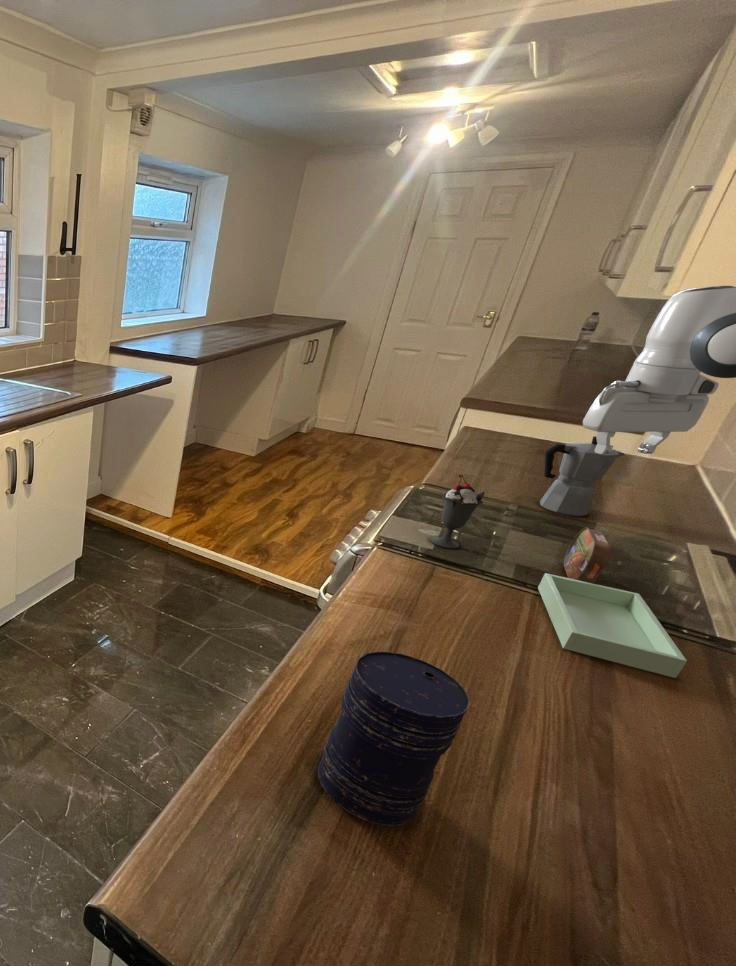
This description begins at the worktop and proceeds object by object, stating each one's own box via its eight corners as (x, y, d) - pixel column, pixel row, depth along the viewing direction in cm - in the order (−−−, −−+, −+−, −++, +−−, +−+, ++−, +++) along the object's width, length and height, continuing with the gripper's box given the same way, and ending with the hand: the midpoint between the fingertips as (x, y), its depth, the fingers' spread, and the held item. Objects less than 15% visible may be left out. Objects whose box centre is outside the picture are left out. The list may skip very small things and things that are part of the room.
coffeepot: (580, 504, 143) (616, 433, 135) (607, 519, 135) (647, 444, 127) (511, 498, 145) (542, 428, 137) (533, 512, 137) (568, 439, 129)
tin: (561, 558, 116) (581, 520, 112) (581, 563, 114) (602, 524, 110) (570, 589, 105) (592, 548, 101) (593, 594, 103) (616, 553, 99)
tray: (630, 608, 99) (639, 593, 98) (675, 678, 83) (687, 661, 81) (537, 587, 105) (545, 572, 104) (562, 648, 88) (572, 632, 87)
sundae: (418, 539, 122) (444, 472, 115) (439, 534, 124) (465, 468, 118) (449, 552, 117) (478, 483, 110) (470, 547, 119) (500, 479, 112)
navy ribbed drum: (374, 840, 58) (426, 729, 51) (297, 767, 66) (332, 663, 59) (438, 808, 62) (494, 700, 55) (357, 743, 70) (397, 642, 63)
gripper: (626, 384, 103) (590, 458, 109) (727, 384, 105) (686, 457, 111) (591, 377, 108) (559, 448, 115) (688, 378, 110) (651, 447, 116)
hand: (622, 453), depth 113 cm, fingers open, 8 cm apart
